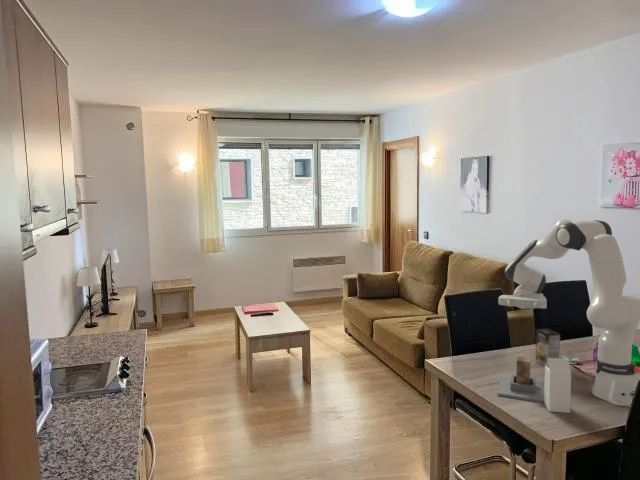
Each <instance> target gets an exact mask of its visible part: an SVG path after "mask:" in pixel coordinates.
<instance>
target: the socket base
mask: <svg viewBox="0 0 640 480" xmlns="http://www.w3.org/2000/svg"><path fill="white" fill-rule="evenodd" d="M544 384H545V381H544V382H543V381H539V380H536V378H535V377H530V385H526V384H519V383H516V374H515V375H514V374H513V375H511V377H509V376H501V377H500V381H499V385H498V388H497V389H498V390H497V396H499V397H505V398H511V399H518V400H519V399H520V400H524V401H530V402H537V403H544Z"/></svg>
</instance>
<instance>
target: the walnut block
mask: <svg viewBox="0 0 640 480" xmlns="http://www.w3.org/2000/svg"><path fill="white" fill-rule="evenodd" d="M531 359H532V358H531V357H524V356H517V357H516V373H515V375H516V383H519V384H526V385H530V378H531V366H532V365H531V364H532V363H531V362H532V361H531Z"/></svg>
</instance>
